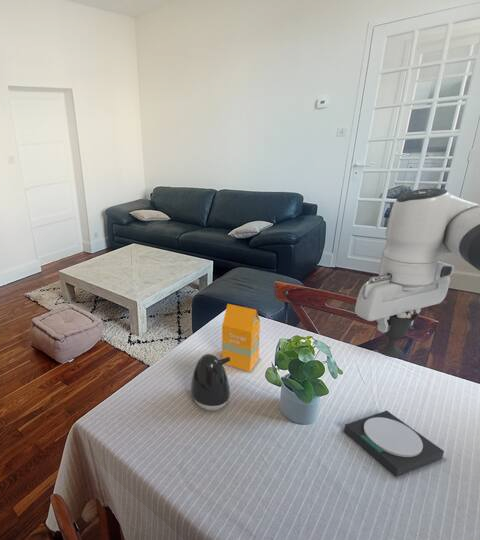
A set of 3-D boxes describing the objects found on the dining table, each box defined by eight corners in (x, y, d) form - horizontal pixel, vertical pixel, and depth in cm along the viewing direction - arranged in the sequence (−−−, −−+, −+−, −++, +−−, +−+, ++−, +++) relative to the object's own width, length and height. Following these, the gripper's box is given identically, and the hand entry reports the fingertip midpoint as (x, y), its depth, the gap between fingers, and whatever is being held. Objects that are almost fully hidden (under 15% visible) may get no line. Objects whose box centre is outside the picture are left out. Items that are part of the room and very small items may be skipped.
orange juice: (250, 374, 101) (252, 315, 94) (221, 365, 106) (221, 308, 99) (258, 360, 106) (261, 304, 99) (231, 352, 112) (231, 298, 105)
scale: (384, 420, 81) (387, 408, 79) (441, 461, 70) (445, 448, 68) (343, 434, 78) (345, 422, 77) (395, 480, 67) (398, 466, 66)
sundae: (407, 347, 77) (420, 287, 72) (410, 363, 72) (425, 300, 67) (371, 340, 81) (382, 283, 76) (372, 355, 76) (383, 295, 70)
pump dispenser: (235, 415, 87) (236, 367, 81) (194, 418, 87) (192, 369, 82) (225, 388, 96) (225, 343, 91) (188, 391, 97) (186, 346, 92)
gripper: (380, 284, 65) (369, 346, 69) (461, 265, 68) (446, 324, 73) (351, 274, 70) (343, 331, 75) (428, 256, 74) (415, 312, 79)
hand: (394, 327), depth 74 cm, fingers closed on sundae, 5 cm apart
